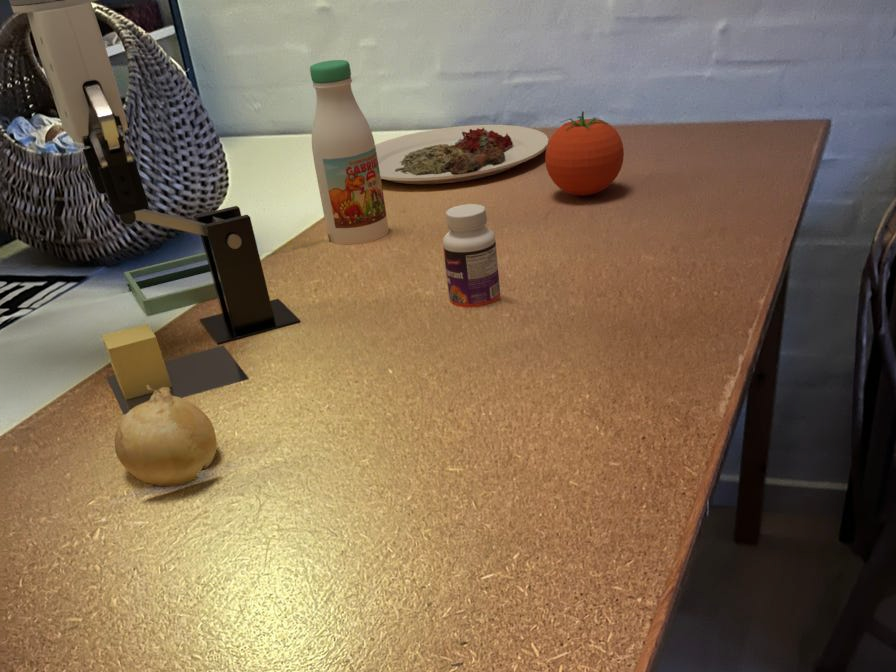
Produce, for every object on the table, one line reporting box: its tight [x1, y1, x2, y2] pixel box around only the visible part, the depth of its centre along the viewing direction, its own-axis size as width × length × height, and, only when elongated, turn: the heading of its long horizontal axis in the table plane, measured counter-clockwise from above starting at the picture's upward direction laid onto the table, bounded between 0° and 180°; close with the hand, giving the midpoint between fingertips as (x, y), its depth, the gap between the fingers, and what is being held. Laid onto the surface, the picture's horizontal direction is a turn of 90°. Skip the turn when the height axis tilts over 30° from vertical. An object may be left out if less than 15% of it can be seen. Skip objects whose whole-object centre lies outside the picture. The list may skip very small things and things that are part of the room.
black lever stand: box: [194, 205, 301, 346], centre depth 101 cm, size 9×8×12 cm
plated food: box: [375, 124, 549, 185], centre depth 149 cm, size 30×30×3 cm
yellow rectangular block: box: [100, 323, 172, 400], centre depth 92 cm, size 4×4×5 cm
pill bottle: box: [442, 203, 501, 308], centre depth 101 cm, size 5×5×10 cm
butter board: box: [105, 344, 250, 416], centre depth 95 cm, size 12×10×1 cm
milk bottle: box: [309, 59, 389, 246], centre depth 118 cm, size 8×8×20 cm
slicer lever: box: [116, 208, 225, 236], centre depth 96 cm, size 12×5×2 cm, turn 116°
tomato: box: [544, 111, 625, 197], centre depth 127 cm, size 10×10×10 cm
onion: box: [114, 385, 218, 488], centre depth 79 cm, size 8×8×7 cm
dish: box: [123, 252, 218, 317], centre depth 115 cm, size 12×12×3 cm
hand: (122, 200), depth 92 cm, fingers open, 9 cm apart
